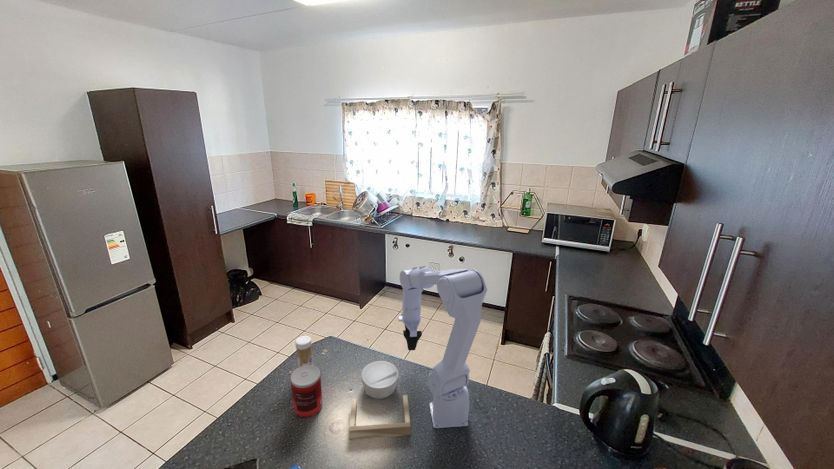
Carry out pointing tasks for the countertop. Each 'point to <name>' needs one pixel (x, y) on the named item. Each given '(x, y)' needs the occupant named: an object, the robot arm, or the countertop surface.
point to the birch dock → (379, 425)
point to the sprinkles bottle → (304, 351)
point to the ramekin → (379, 379)
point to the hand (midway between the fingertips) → (410, 341)
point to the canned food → (306, 390)
